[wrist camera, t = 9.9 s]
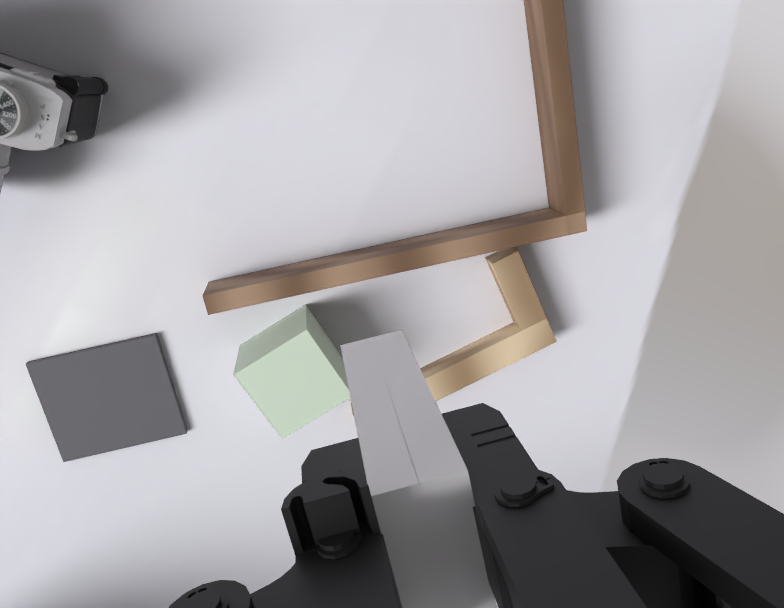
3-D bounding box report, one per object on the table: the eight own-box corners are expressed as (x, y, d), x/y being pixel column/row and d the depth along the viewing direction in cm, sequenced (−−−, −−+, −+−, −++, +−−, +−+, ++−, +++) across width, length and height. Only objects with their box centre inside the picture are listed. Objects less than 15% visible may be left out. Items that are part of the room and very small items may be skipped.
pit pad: (65, 458, 46) (63, 461, 46) (28, 361, 44) (25, 364, 44) (187, 430, 47) (186, 433, 46) (156, 333, 44) (155, 335, 44)
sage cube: (283, 403, 47) (282, 439, 42) (240, 344, 46) (233, 375, 41) (347, 364, 47) (352, 395, 42) (305, 304, 45) (306, 329, 41)
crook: (362, 423, 48) (365, 436, 47) (316, 341, 46) (317, 350, 44) (547, 332, 48) (556, 341, 46) (509, 244, 46) (518, 251, 44)
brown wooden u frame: (213, 300, 44) (208, 314, 41) (100, -97, 37) (83, -112, 34) (568, 221, 46) (587, 230, 43) (524, -175, 39) (542, -195, 36)
